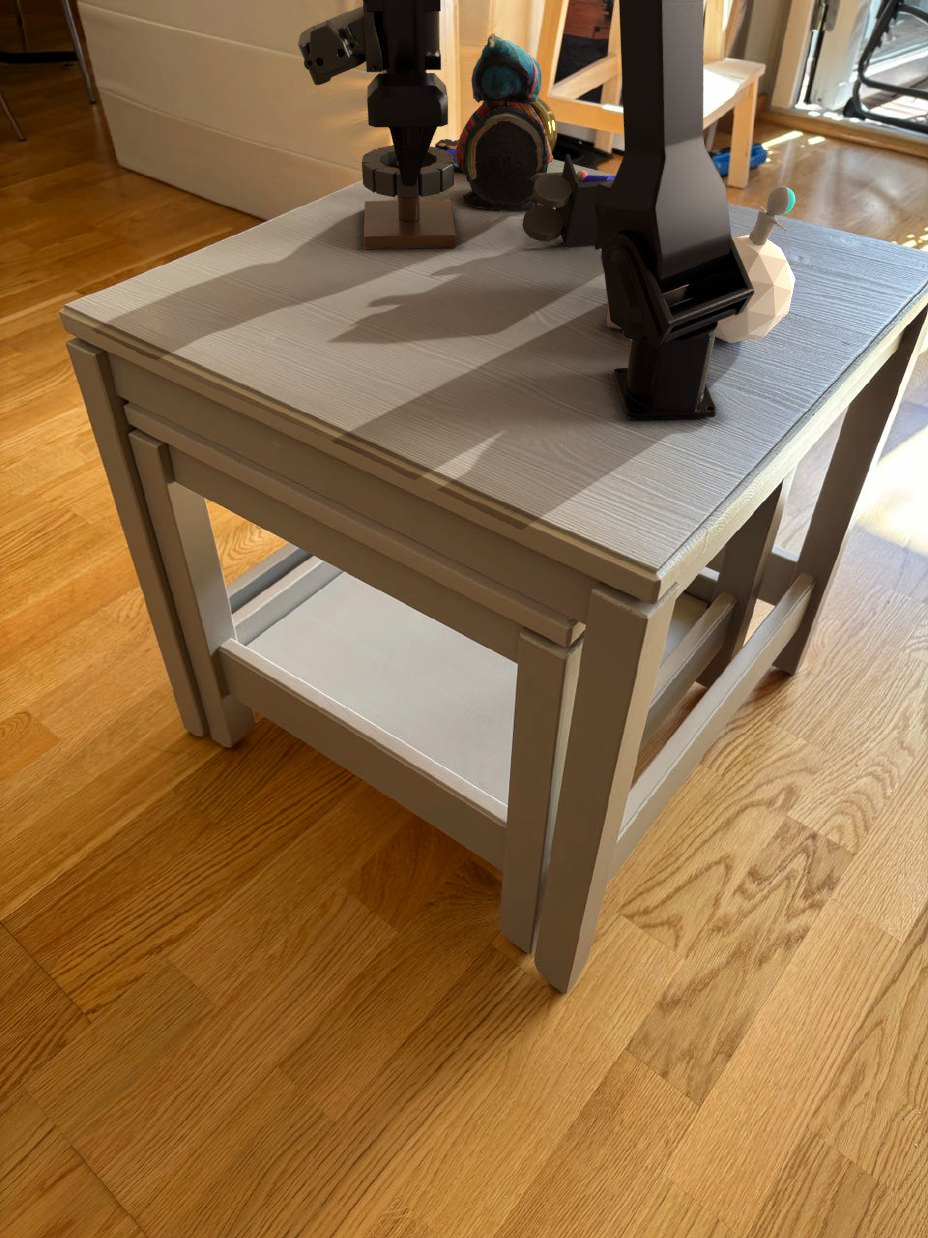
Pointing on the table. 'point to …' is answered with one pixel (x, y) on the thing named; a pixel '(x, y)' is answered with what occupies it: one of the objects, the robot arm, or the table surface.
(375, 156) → the ring
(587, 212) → the character figurine
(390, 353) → the table surface
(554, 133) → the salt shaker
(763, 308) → the perfume bottle
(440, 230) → the stand
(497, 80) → the figurine
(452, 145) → the pixel art figurine
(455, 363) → the table surface
